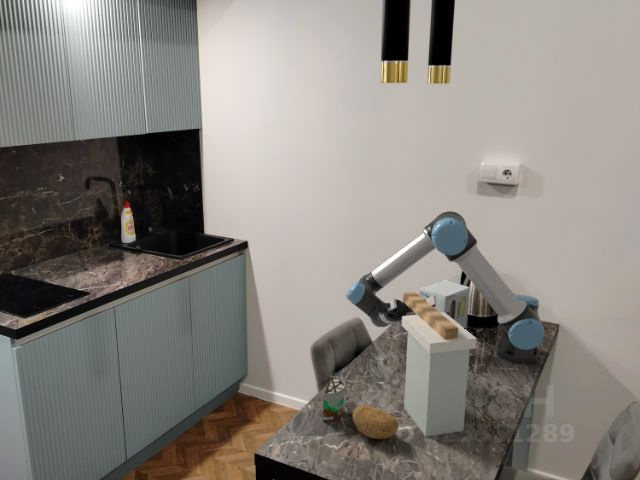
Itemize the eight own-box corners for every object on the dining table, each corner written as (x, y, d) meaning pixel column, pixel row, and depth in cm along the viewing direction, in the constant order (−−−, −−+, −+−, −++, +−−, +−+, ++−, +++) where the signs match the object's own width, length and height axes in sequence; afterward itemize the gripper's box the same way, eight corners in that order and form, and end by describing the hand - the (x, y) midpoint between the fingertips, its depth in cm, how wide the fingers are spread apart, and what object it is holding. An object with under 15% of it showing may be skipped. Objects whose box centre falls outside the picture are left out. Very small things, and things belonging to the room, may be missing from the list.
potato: (387, 452, 164) (388, 427, 162) (345, 435, 172) (345, 410, 170) (404, 436, 172) (405, 411, 170) (363, 420, 180) (364, 396, 178)
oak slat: (402, 301, 193) (403, 292, 192) (414, 300, 194) (414, 291, 193) (444, 339, 165) (445, 329, 164) (457, 338, 166) (458, 328, 165)
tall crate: (398, 404, 189) (402, 316, 181) (438, 398, 192) (444, 312, 184) (424, 440, 170) (430, 343, 162) (468, 433, 174) (476, 338, 166)
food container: (342, 426, 177) (343, 396, 174) (322, 424, 178) (322, 394, 175) (349, 405, 188) (349, 376, 186) (330, 403, 189) (330, 374, 187)
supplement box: (442, 339, 236) (445, 296, 232) (416, 329, 246) (418, 288, 241) (467, 327, 248) (471, 286, 243) (441, 318, 257) (444, 278, 252)
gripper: (427, 319, 209) (453, 309, 189) (360, 325, 203) (379, 316, 183) (424, 297, 211) (449, 286, 191) (357, 304, 205) (375, 292, 185)
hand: (415, 301), depth 187 cm, fingers open, 13 cm apart
